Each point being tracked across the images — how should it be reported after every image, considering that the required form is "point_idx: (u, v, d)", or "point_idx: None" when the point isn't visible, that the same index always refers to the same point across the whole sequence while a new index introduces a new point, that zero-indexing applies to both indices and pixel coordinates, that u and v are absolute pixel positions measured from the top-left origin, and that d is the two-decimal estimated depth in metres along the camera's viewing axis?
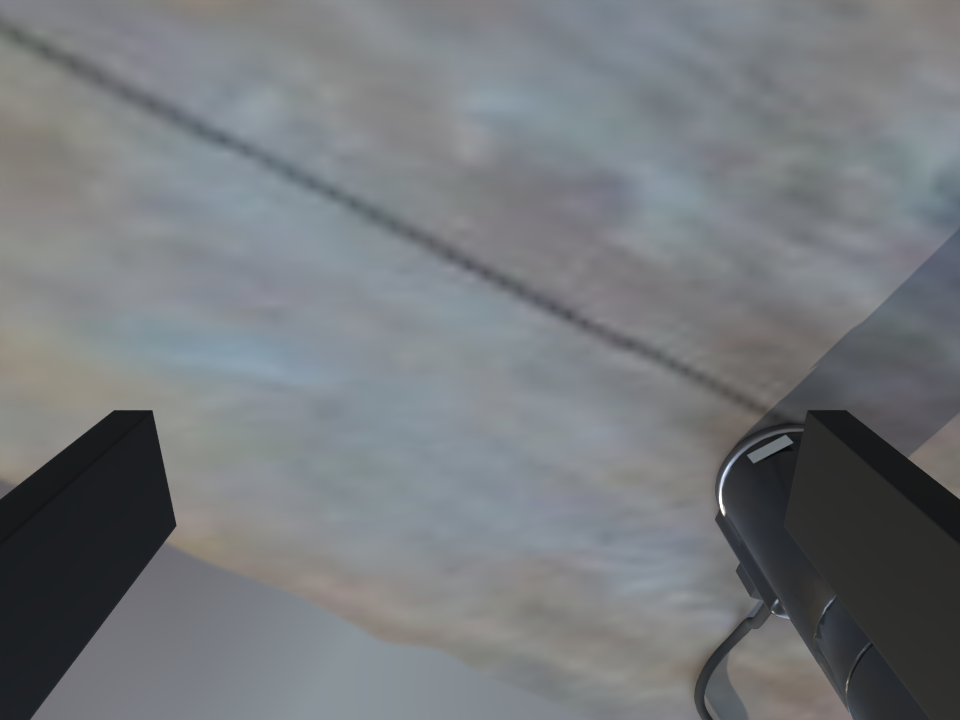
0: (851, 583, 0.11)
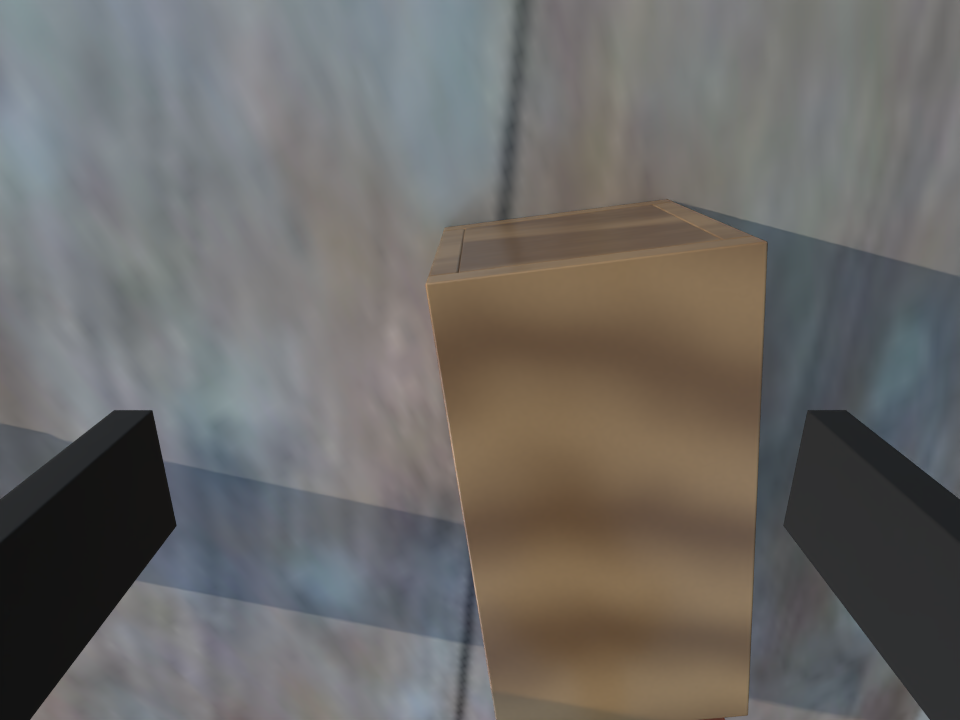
0: (852, 584, 0.11)
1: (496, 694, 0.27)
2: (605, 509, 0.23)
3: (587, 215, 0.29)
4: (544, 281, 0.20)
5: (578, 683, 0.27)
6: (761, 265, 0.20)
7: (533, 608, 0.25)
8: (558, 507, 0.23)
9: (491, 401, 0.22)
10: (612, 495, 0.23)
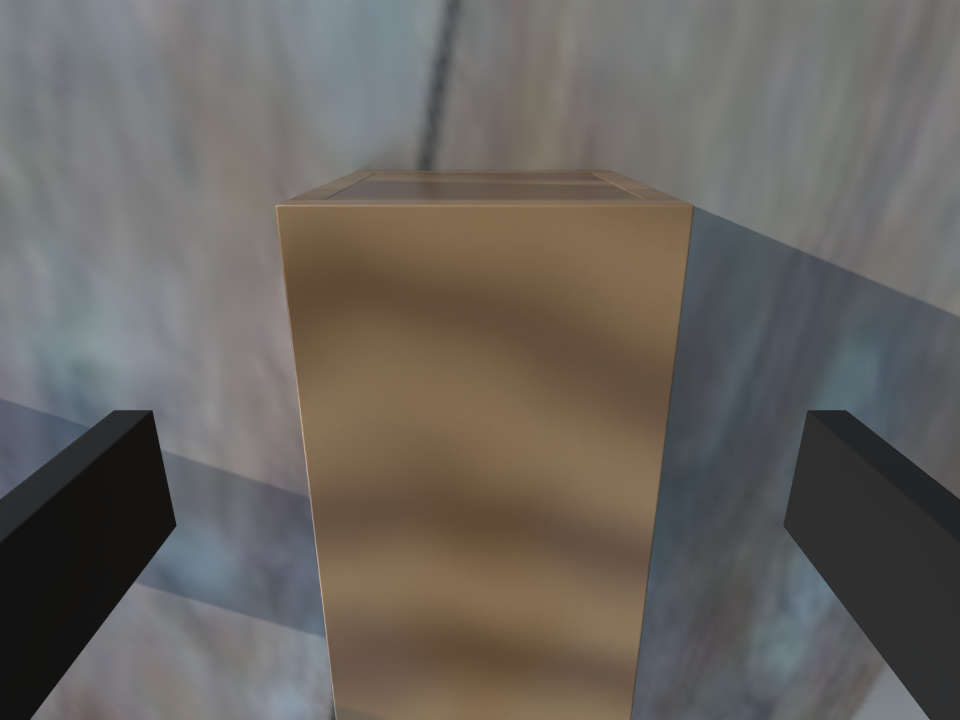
0: (852, 584, 0.11)
1: (339, 710, 0.23)
2: (479, 507, 0.20)
3: (515, 174, 0.25)
4: (422, 220, 0.16)
5: (435, 706, 0.23)
6: (684, 233, 0.17)
7: (388, 615, 0.21)
8: (423, 500, 0.20)
9: (350, 362, 0.18)
10: (488, 493, 0.20)
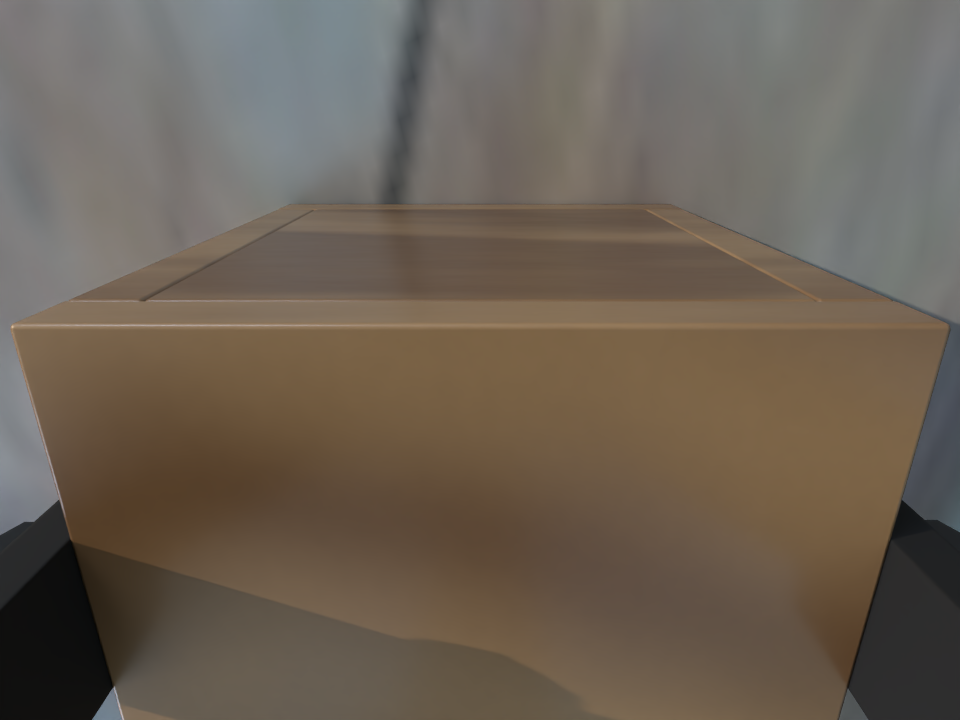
0: None
1: None
2: None
3: (530, 212, 0.16)
4: (341, 357, 0.07)
5: None
6: (922, 384, 0.07)
7: None
8: None
9: (208, 623, 0.09)
10: None
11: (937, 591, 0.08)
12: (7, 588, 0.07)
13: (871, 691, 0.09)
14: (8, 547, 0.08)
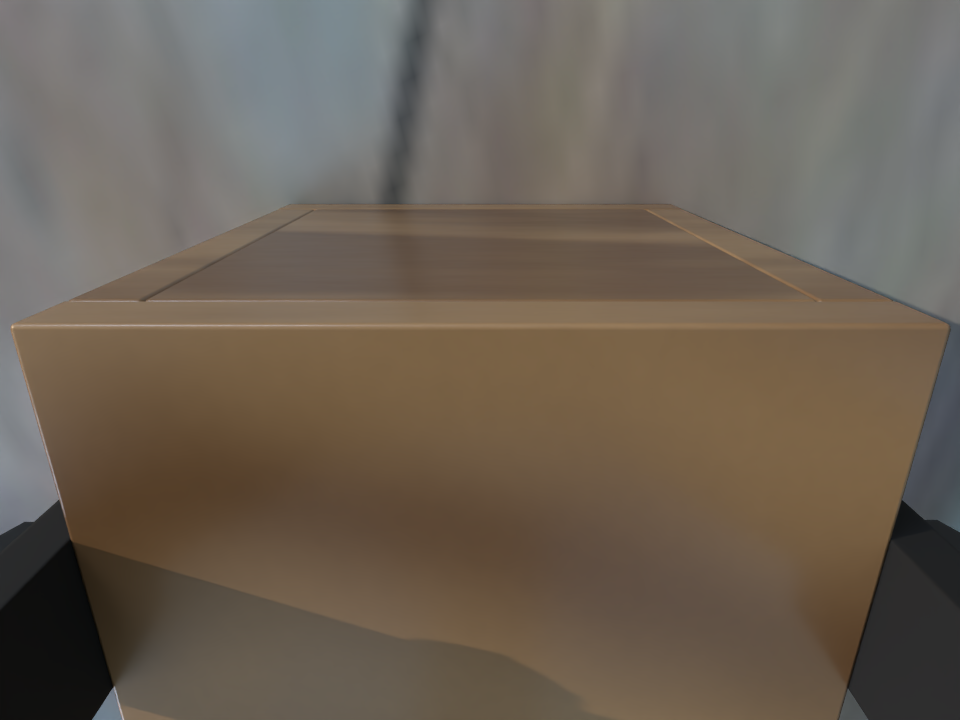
0: None
1: None
2: None
3: (529, 213, 0.16)
4: (341, 357, 0.07)
5: None
6: (922, 384, 0.07)
7: None
8: None
9: (208, 623, 0.09)
10: None
11: (937, 591, 0.08)
12: (7, 588, 0.07)
13: (871, 691, 0.09)
14: (8, 547, 0.08)
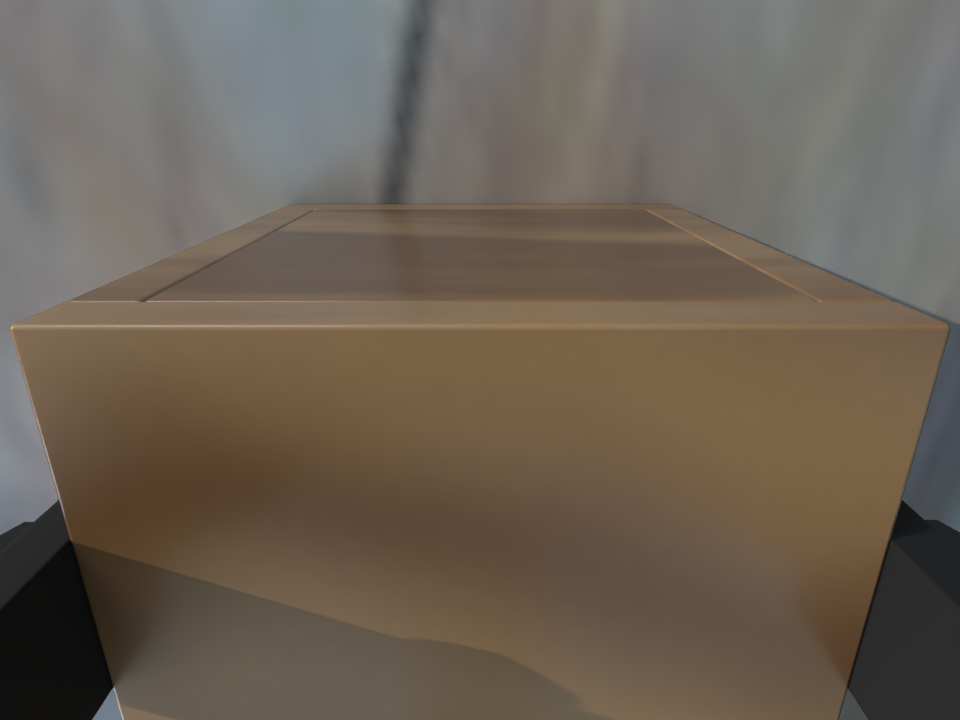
0: None
1: None
2: None
3: (529, 212, 0.16)
4: (340, 358, 0.07)
5: None
6: (922, 384, 0.07)
7: None
8: None
9: (207, 624, 0.09)
10: None
11: (937, 591, 0.08)
12: (7, 588, 0.07)
13: (871, 692, 0.09)
14: (8, 547, 0.08)
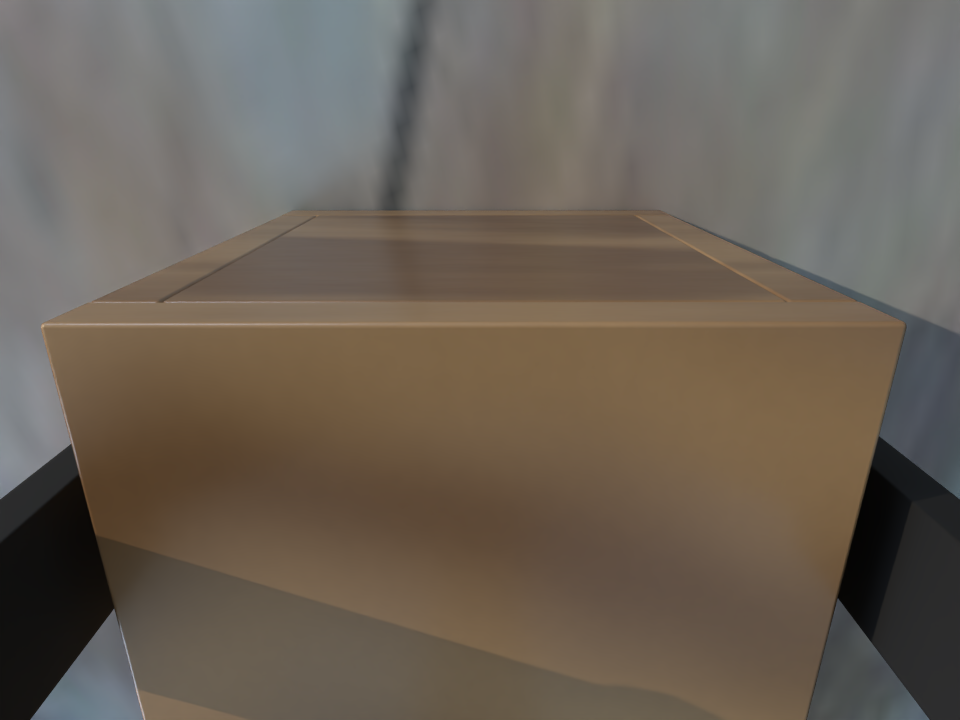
0: (851, 583, 0.11)
1: None
2: None
3: (524, 218, 0.17)
4: (346, 353, 0.08)
5: None
6: (881, 378, 0.08)
7: None
8: None
9: (220, 604, 0.09)
10: None
11: None
12: None
13: None
14: None
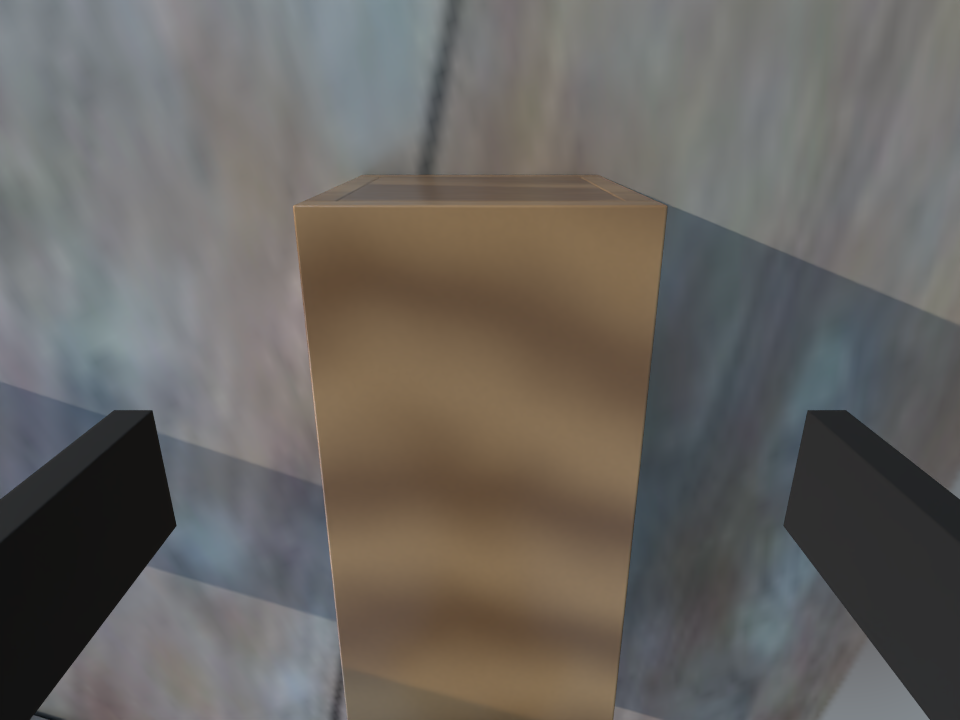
0: (852, 583, 0.11)
1: (347, 674, 0.25)
2: (476, 482, 0.22)
3: (509, 178, 0.27)
4: (424, 219, 0.18)
5: (436, 671, 0.25)
6: (659, 231, 0.19)
7: (392, 584, 0.23)
8: (425, 475, 0.22)
9: (358, 348, 0.20)
10: (484, 468, 0.21)
11: None
12: None
13: None
14: None
